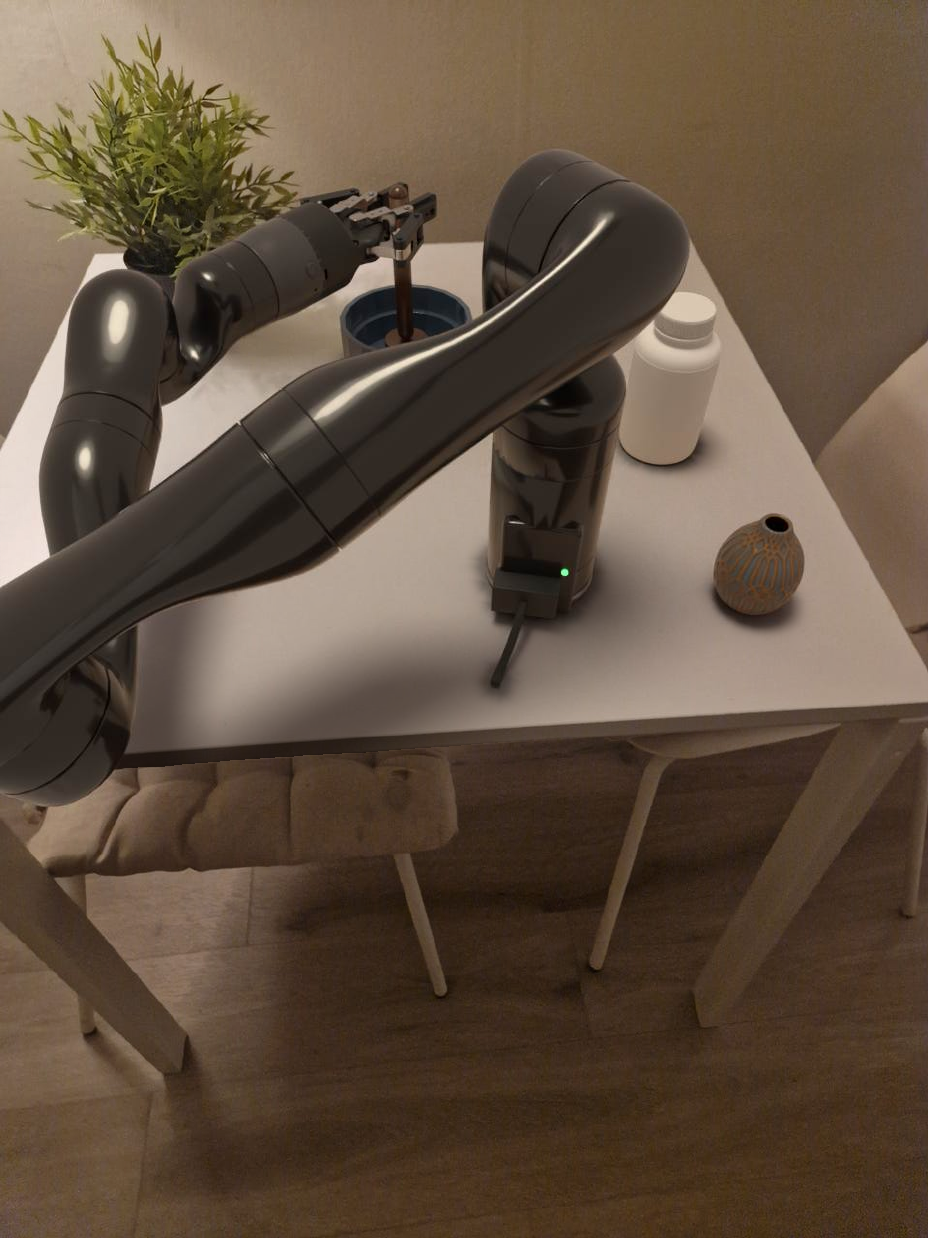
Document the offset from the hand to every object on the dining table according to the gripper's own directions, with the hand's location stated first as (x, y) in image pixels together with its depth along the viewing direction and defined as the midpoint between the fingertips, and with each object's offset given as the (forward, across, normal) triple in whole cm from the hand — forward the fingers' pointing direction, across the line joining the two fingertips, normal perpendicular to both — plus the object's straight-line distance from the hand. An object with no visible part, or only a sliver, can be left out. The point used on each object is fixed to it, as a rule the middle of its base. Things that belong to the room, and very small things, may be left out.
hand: (419, 198), depth 78 cm
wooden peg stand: (-3, 0, -17) cm, 17 cm away
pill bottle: (+3, +29, -18) cm, 34 cm away
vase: (-10, +46, -18) cm, 50 cm away
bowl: (-3, 0, -17) cm, 18 cm away
